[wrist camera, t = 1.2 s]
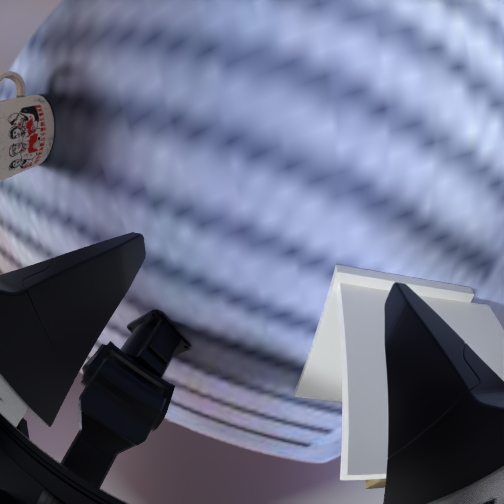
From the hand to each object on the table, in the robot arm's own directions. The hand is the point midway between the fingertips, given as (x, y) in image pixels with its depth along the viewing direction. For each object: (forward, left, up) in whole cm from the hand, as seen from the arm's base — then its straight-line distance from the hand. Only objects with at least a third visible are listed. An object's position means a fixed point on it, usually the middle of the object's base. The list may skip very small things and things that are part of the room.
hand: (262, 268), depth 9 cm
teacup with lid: (-17, +23, -14) cm, 32 cm away
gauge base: (0, -21, -13) cm, 25 cm away
